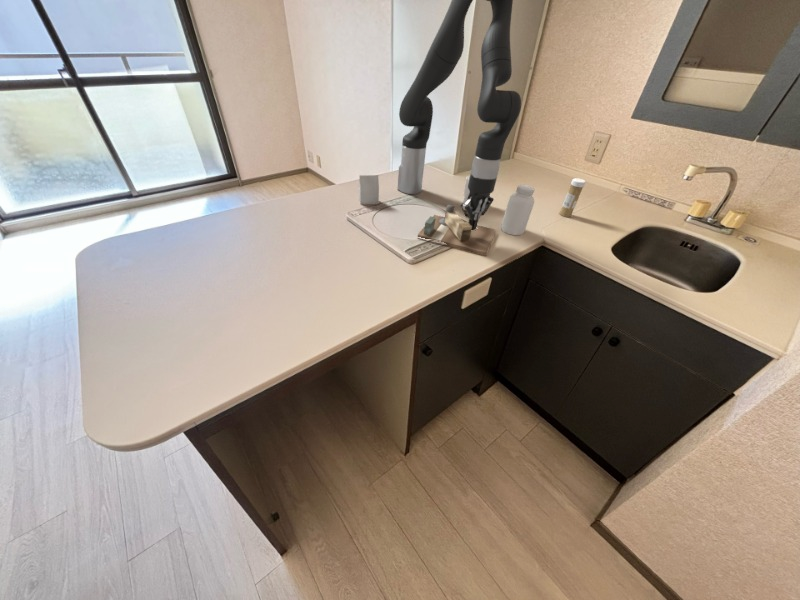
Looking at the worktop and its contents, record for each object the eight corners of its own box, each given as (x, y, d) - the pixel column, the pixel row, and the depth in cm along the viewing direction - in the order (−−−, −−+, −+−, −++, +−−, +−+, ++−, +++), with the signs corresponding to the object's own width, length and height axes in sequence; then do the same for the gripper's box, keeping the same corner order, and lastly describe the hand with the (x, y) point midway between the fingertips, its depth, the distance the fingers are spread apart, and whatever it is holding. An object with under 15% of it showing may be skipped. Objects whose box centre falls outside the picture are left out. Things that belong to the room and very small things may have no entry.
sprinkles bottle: (573, 217, 125) (588, 182, 116) (562, 217, 124) (577, 182, 115) (567, 212, 128) (581, 177, 120) (556, 212, 127) (570, 177, 119)
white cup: (482, 208, 125) (489, 183, 119) (462, 207, 125) (467, 181, 118) (479, 200, 131) (485, 175, 125) (460, 199, 131) (465, 174, 124)
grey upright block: (378, 203, 122) (379, 177, 115) (360, 204, 120) (360, 177, 114) (376, 200, 124) (377, 173, 118) (359, 200, 123) (358, 173, 117)
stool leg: (442, 219, 111) (445, 205, 108) (450, 219, 112) (453, 204, 108) (460, 240, 100) (463, 225, 97) (469, 240, 101) (472, 224, 98)
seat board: (417, 238, 103) (419, 223, 100) (433, 217, 116) (435, 203, 112) (485, 256, 97) (489, 240, 94) (495, 232, 110) (499, 218, 107)
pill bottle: (525, 228, 114) (540, 186, 104) (522, 238, 108) (537, 194, 99) (502, 223, 116) (515, 181, 107) (498, 232, 110) (511, 188, 101)
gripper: (488, 166, 97) (476, 219, 108) (458, 173, 91) (448, 229, 102) (509, 173, 93) (493, 228, 104) (479, 181, 86) (466, 239, 97)
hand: (471, 229), depth 103 cm, fingers closed
